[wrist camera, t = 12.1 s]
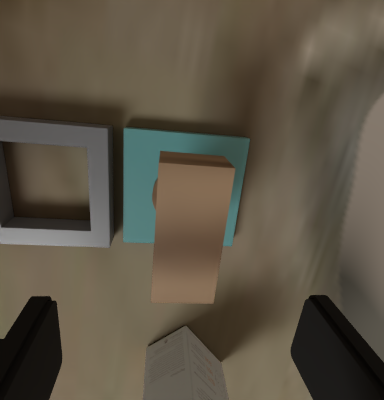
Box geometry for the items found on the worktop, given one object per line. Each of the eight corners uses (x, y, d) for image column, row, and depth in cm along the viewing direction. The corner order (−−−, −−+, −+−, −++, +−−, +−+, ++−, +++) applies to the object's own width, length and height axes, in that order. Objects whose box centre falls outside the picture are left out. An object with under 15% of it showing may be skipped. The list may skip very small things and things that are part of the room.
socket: (-2, 231, 24) (-16, 243, 22) (-24, 113, 20) (-44, 115, 18) (114, 236, 25) (109, 247, 23) (112, 125, 21) (107, 128, 19)
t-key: (155, 137, 21) (148, 161, 14) (218, 143, 21) (244, 169, 14) (150, 238, 24) (142, 302, 17) (204, 240, 25) (220, 303, 17)
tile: (124, 236, 25) (123, 242, 24) (125, 126, 21) (123, 128, 20) (229, 240, 26) (231, 246, 25) (246, 137, 22) (250, 139, 22)
